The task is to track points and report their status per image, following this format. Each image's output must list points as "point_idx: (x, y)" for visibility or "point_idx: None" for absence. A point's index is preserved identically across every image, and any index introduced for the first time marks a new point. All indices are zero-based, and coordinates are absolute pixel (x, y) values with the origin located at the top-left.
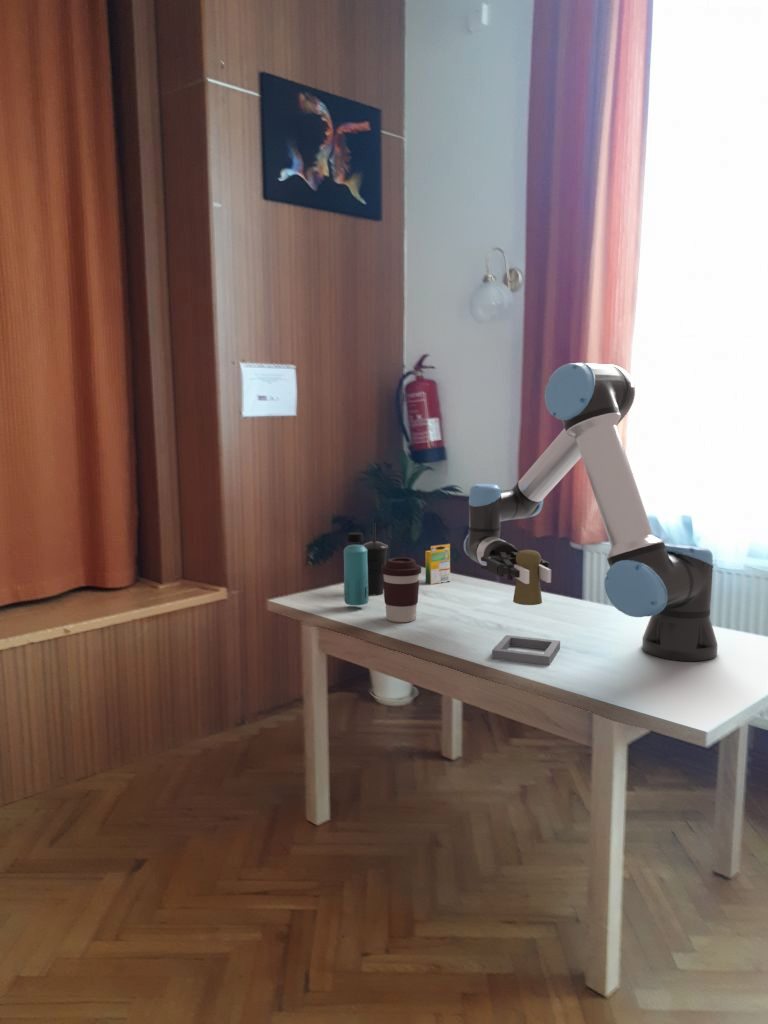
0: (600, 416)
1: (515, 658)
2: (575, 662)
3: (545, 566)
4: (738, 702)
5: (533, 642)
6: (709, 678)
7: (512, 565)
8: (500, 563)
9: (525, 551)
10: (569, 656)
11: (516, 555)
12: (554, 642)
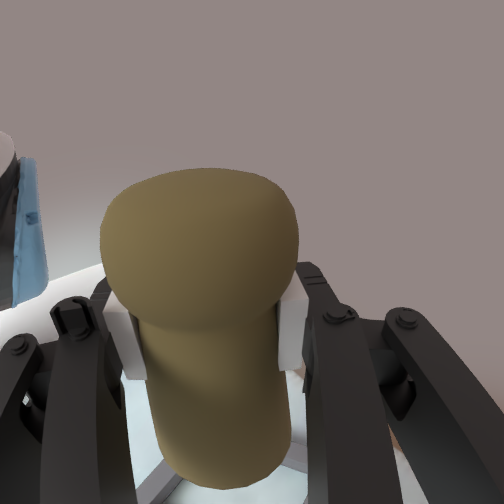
0: None
1: None
2: (143, 424)
3: (51, 346)
4: (66, 278)
5: None
6: (23, 323)
7: (320, 305)
8: (420, 351)
9: (230, 170)
10: (134, 460)
11: (295, 223)
12: (141, 500)
